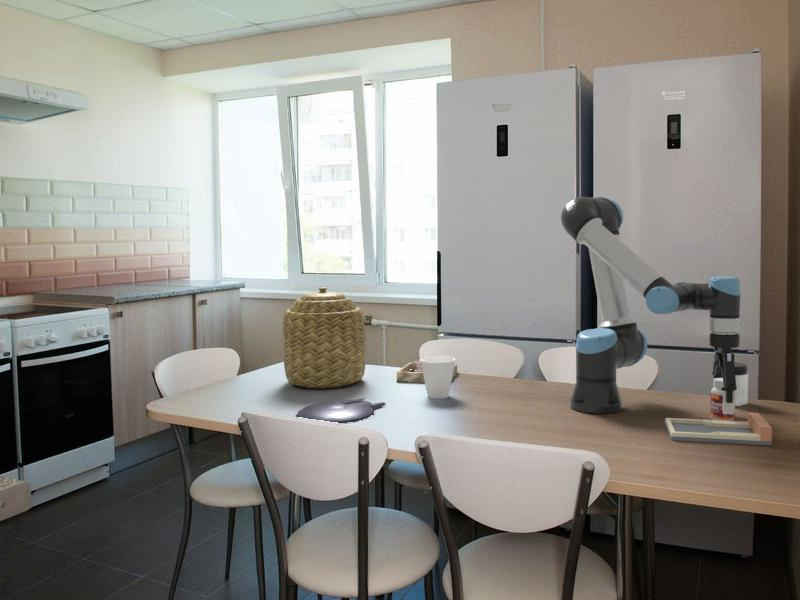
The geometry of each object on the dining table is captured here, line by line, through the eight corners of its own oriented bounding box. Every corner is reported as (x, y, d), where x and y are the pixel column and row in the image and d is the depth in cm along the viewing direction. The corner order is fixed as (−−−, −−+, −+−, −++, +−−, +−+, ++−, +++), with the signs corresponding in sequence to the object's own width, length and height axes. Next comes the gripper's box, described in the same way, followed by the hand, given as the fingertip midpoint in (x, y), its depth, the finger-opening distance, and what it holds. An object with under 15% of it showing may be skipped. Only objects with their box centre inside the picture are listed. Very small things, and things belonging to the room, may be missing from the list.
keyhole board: (671, 440, 174) (671, 422, 174) (665, 425, 188) (665, 408, 187) (771, 445, 168) (772, 427, 168) (757, 429, 182) (758, 412, 182)
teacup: (430, 382, 249) (429, 365, 248) (402, 379, 255) (401, 362, 255) (446, 376, 259) (445, 359, 259) (418, 373, 266) (418, 357, 265)
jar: (735, 407, 204) (736, 368, 203) (710, 402, 211) (711, 364, 210) (752, 403, 209) (753, 364, 208) (726, 398, 216) (727, 360, 215)
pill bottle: (707, 420, 192) (708, 380, 191) (714, 415, 197) (714, 376, 196) (731, 423, 188) (732, 382, 187) (737, 418, 193) (738, 379, 192)
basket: (297, 373, 269) (294, 284, 265) (373, 374, 264) (370, 283, 261) (273, 391, 239) (269, 291, 236) (357, 392, 235) (354, 290, 232)
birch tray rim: (396, 381, 250) (396, 372, 250) (409, 371, 269) (409, 362, 268) (447, 383, 246) (447, 373, 245) (457, 372, 264) (457, 363, 263)
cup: (415, 399, 223) (414, 361, 222) (427, 391, 234) (426, 355, 233) (449, 401, 219) (449, 363, 218) (460, 393, 230) (460, 356, 229)
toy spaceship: (350, 399, 227) (350, 389, 227) (401, 411, 210) (401, 400, 210) (279, 416, 208) (279, 405, 208) (329, 430, 191) (329, 419, 191)
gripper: (749, 339, 177) (748, 419, 179) (730, 326, 201) (729, 397, 203) (718, 339, 179) (717, 418, 181) (702, 326, 203) (701, 397, 205)
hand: (723, 407), depth 192 cm, fingers open, 13 cm apart
